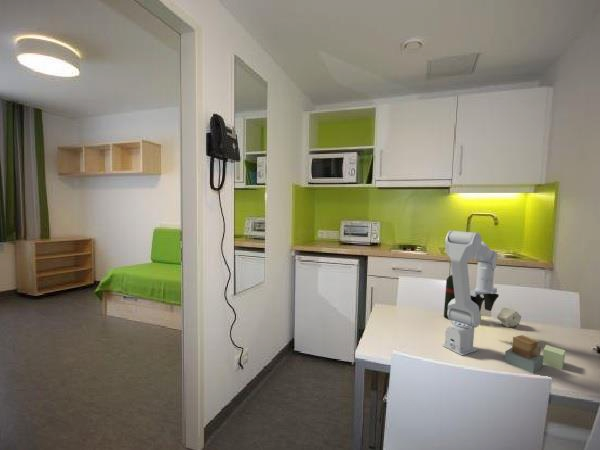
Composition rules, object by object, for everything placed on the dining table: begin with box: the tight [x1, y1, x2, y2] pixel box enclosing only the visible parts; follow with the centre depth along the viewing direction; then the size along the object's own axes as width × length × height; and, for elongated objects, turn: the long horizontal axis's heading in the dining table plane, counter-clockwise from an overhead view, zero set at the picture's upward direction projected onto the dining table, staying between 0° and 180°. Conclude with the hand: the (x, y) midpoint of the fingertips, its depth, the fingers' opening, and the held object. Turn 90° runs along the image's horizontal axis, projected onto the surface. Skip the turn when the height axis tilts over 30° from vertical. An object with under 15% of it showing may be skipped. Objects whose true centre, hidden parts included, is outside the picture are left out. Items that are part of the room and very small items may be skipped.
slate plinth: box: [504, 347, 544, 374], centre depth 98 cm, size 8×8×4 cm
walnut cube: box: [511, 334, 540, 359], centre depth 98 cm, size 5×5×5 cm
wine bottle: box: [443, 274, 455, 321], centre depth 136 cm, size 8×10×30 cm
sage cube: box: [542, 344, 566, 370], centre depth 99 cm, size 5×5×5 cm
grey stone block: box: [496, 306, 522, 328], centre depth 130 cm, size 8×9×10 cm
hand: (482, 311), depth 119 cm, fingers open, 7 cm apart
